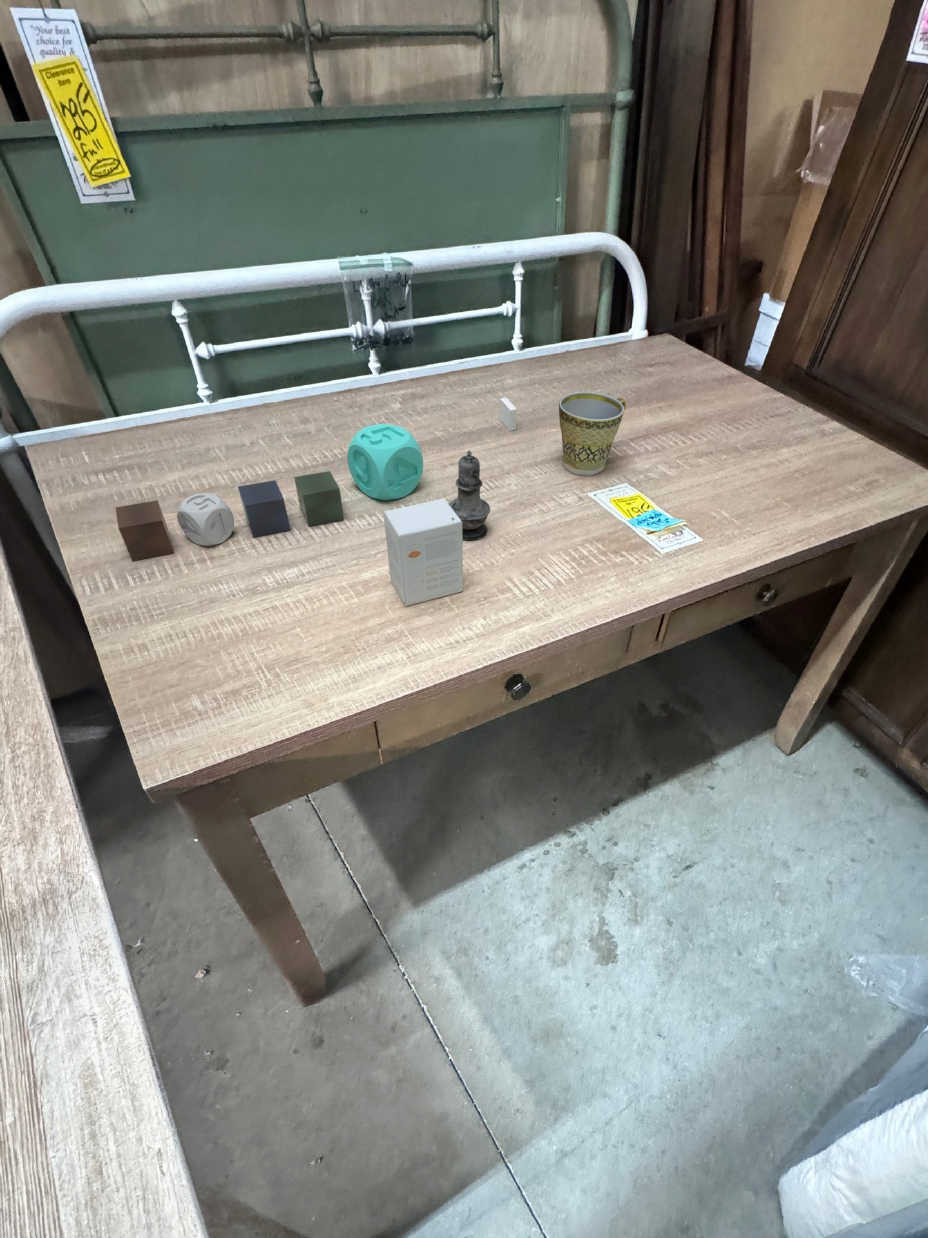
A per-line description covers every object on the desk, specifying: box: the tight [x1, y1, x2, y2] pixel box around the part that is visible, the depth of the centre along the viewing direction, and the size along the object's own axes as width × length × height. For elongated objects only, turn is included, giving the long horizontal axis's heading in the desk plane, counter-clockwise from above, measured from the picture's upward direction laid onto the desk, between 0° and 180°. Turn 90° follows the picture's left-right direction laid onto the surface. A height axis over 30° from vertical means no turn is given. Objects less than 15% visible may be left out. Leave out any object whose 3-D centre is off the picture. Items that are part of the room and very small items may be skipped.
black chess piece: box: [448, 449, 491, 542], centre depth 92 cm, size 6×6×12 cm
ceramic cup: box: [558, 391, 627, 477], centre depth 108 cm, size 13×10×10 cm
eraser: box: [498, 397, 518, 432], centre depth 119 cm, size 1×5×4 cm, turn 23°
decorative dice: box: [346, 423, 424, 501], centre depth 101 cm, size 8×8×8 cm
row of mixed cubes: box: [115, 470, 345, 562], centre depth 92 cm, size 28×5×5 cm, turn 115°
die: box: [176, 492, 235, 547], centre depth 90 cm, size 5×5×5 cm
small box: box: [382, 498, 464, 607], centre depth 84 cm, size 8×6×10 cm
